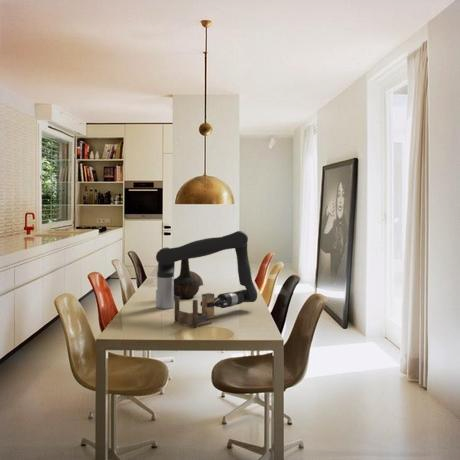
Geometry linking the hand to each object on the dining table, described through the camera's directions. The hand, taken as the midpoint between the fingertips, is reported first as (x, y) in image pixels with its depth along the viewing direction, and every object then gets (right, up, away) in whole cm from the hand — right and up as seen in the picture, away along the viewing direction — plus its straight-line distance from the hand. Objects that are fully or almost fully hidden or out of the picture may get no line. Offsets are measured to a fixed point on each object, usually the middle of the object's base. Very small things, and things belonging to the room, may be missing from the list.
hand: (204, 304), depth 273 cm
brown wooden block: (+2, -7, +3) cm, 8 cm away
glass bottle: (-15, -4, +59) cm, 61 cm away
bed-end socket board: (-5, -8, -8) cm, 12 cm away
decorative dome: (-16, -1, +103) cm, 105 cm away
